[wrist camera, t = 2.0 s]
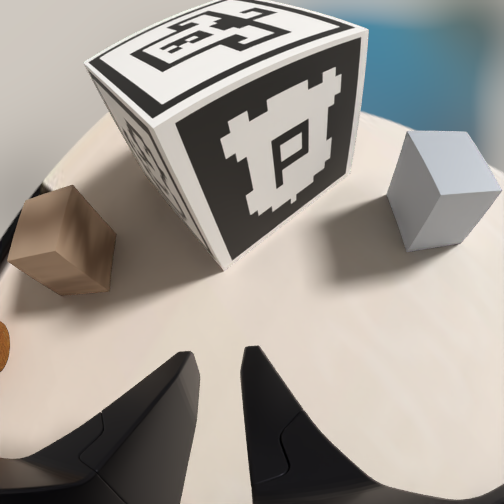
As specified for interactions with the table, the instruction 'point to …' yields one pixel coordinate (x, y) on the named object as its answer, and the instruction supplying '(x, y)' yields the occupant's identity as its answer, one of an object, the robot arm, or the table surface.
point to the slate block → (440, 189)
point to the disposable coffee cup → (4, 345)
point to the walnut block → (64, 243)
